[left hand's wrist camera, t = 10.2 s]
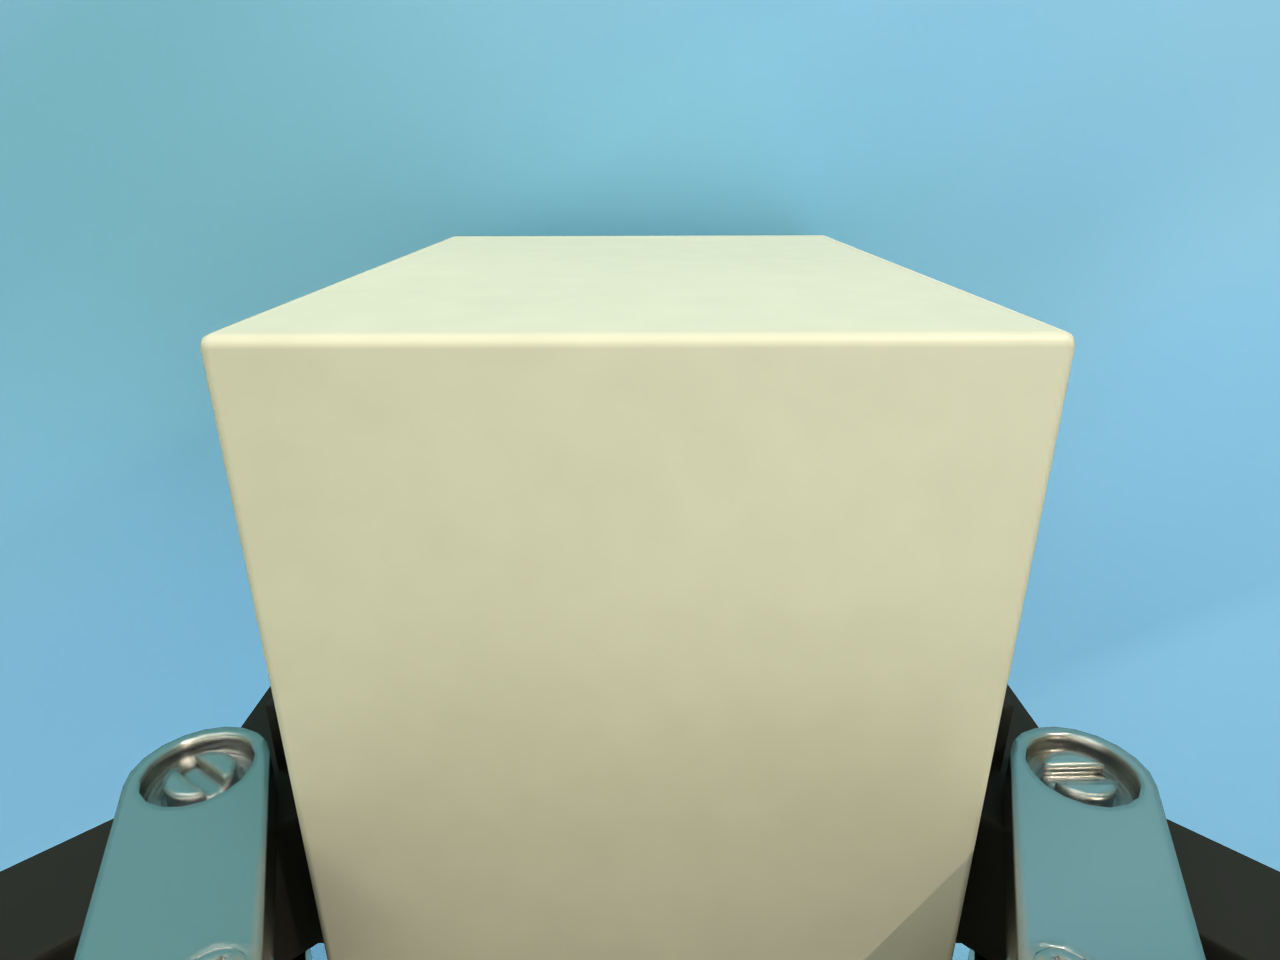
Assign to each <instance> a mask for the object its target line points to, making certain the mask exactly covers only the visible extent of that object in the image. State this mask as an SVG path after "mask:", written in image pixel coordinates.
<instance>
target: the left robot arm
mask: <svg viewBox="0 0 1280 960" xmlns="http://www.w3.org/2000/svg"><path fill="white" fill-rule="evenodd" d="M317 943H324V940H323V935H322V930H321V925H320V920H319V916H318V911H317V906H316V901H315V896H314V892H313V887H312V882H311V877H310V872H309V868H308V863H307V858H306V853H305V848H304V844H303V839H302V834H301V829H300V824H299V820H298V815H297V810H296V805H295V800H294V796H293V791H292V786H291V781H290V776H289V772H288V767H287V762H286V757H285V752H284V748H283V743H282V738H281V733H280V728H279V724H278V719H277V714H276V709H275V704H274V700H273V695H272V690H271V686H270V688H269V689H268V690H267V692H266V693H265V695H264V696H263V697H262V699H261V700H260V702H259V703H258V704H257V706H256V707H255V709H254V710H253V711H252V713H251V714H250V716H249V717H248V718H247V720H246V721H245V723H244V724H243V725H242V727H241V728H237V727H220V728H213V729H205V730H202V731H198V732H195V733H192V734H188V735H185V736H182V737H180V738H178V739H176V740H174V741H172V742H169V743H167V744H165V745H163V746H161V747H160V748H158V749H157V750H155V751H154V752H153V753H151V754H150V755H148V756H147V757H145V758H144V759H143V760H142V761H141V762H140V763H139V764H138V765H137V766H136V767H135V768H134V769H133V770H132V771H131V772H130V774H129V776H128V778H127V780H126V782H125V784H124V786H123V788H122V792H121V795H120V799H119V802H118V806H117V809H116V813H115V816H114V819H112V820H110V821H108V822H105V823H103V824H101V825H99V826H97V827H95V828H93V829H91V830H88V831H86V832H84V833H82V834H80V835H78V836H76V837H73V838H71V839H69V840H67V841H65V842H63V843H61V844H59V845H56V846H54V847H52V848H50V849H48V850H46V851H44V852H41V853H39V854H37V855H35V856H33V857H31V858H29V859H27V860H24V861H22V862H20V863H18V864H16V865H14V866H12V867H9V868H7V869H5V870H3V871H1V872H0V960H312V955H311V951H310V948H311V947H313V946H314V945H316V944H317ZM955 943H962V944H964V945H965V946H967V947H968V948H970V951H969V955H968V960H1280V872H1279V871H1277V870H1274V869H1272V868H1270V867H1268V866H1266V865H1264V864H1262V863H1259V862H1257V861H1255V860H1253V859H1251V858H1249V857H1247V856H1245V855H1242V854H1240V853H1238V852H1236V851H1234V850H1232V849H1230V848H1227V847H1225V846H1223V845H1221V844H1219V843H1217V842H1215V841H1213V840H1210V839H1208V838H1206V837H1204V836H1202V835H1200V834H1198V833H1195V832H1193V831H1191V830H1189V829H1187V828H1185V827H1183V826H1180V825H1178V824H1176V823H1174V822H1172V821H1170V820H1168V819H1166V816H1165V813H1164V809H1163V806H1162V802H1161V799H1160V795H1159V792H1158V788H1157V786H1156V784H1155V782H1154V780H1153V778H1152V776H1151V774H1150V772H1149V771H1148V770H1147V769H1146V768H1145V767H1144V766H1143V765H1142V764H1141V763H1140V762H1139V761H1138V760H1137V759H1136V758H1135V757H1133V756H1132V755H1130V754H1129V753H1127V752H1126V751H1125V750H1123V749H1122V748H1120V747H1119V746H1117V745H1115V744H1113V743H1111V742H1108V741H1106V740H1104V739H1102V738H1100V737H1098V736H1095V735H1092V734H1088V733H1085V732H1082V731H1078V730H1075V729H1067V728H1060V727H1043V728H1038V726H1037V725H1036V723H1035V722H1034V721H1033V719H1032V718H1031V716H1030V715H1029V714H1028V712H1027V711H1026V709H1025V708H1024V707H1023V705H1022V704H1021V702H1020V701H1019V700H1018V698H1017V697H1016V695H1015V694H1014V693H1013V691H1012V690H1011V688H1010V687H1009V686H1008V684H1007V688H1006V693H1005V698H1004V703H1003V708H1002V713H1001V718H1000V723H999V728H998V733H997V738H996V743H995V748H994V753H993V758H992V763H991V767H990V772H989V777H988V782H987V787H986V792H985V797H984V802H983V807H982V812H981V817H980V822H979V827H978V832H977V837H976V842H975V847H974V852H973V857H972V862H971V867H970V872H969V877H968V882H967V887H966V892H965V897H964V902H963V907H962V912H961V917H960V922H959V927H958V932H957V937H956V942H955Z"/></svg>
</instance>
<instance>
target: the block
mask: <svg viewBox="0 0 1280 960" xmlns="http://www.w3.org/2000/svg"><path fill="white" fill-rule="evenodd" d="M1074 348H1075V344H1074V337H1073V336H1072V334H1070V333H1068V332H1066V331H1063V330H1061V329H1059V328H1056V327H1054V326H1051V325H1049V324H1046V323H1043V322H1041V321H1038V320H1036V319H1033V318H1031V317H1028V316H1026V315H1023V314H1021V313H1018V312H1016V311H1013V310H1011V309H1008V308H1006V307H1003V306H1001V305H998V304H996V303H993V302H991V301H988V300H985V299H983V298H980V297H978V296H975V295H973V294H970V293H968V292H965V291H963V290H960V289H958V288H955V287H953V286H950V285H948V284H945V283H943V282H940V281H938V280H935V279H932V278H930V277H927V276H925V275H922V274H920V273H917V272H915V271H912V270H910V269H907V268H905V267H902V266H900V265H897V264H895V263H892V262H890V261H887V260H885V259H882V258H880V257H877V256H874V255H872V254H869V253H867V252H864V251H862V250H859V249H857V248H854V247H852V246H849V245H847V244H844V243H842V242H839V241H837V240H834V239H832V238H829V237H827V236H824V235H787V236H454V237H451V238H449V239H446V240H444V241H441V242H439V243H436V244H434V245H431V246H429V247H426V248H424V249H421V250H419V251H416V252H414V253H411V254H409V255H406V256H403V257H401V258H398V259H396V260H393V261H391V262H388V263H386V264H383V265H381V266H378V267H376V268H373V269H371V270H368V271H366V272H363V273H361V274H358V275H356V276H353V277H351V278H348V279H346V280H343V281H341V282H338V283H336V284H333V285H331V286H328V287H326V288H323V289H320V290H318V291H315V292H313V293H310V294H308V295H305V296H303V297H300V298H298V299H295V300H293V301H290V302H288V303H285V304H283V305H280V306H278V307H275V308H273V309H270V310H268V311H265V312H263V313H260V314H258V315H255V316H253V317H250V318H248V319H245V320H243V321H240V322H237V323H235V324H232V325H230V326H227V327H225V328H222V329H220V330H217V331H215V332H212V333H210V334H208V335H206V336H204V337H203V339H202V341H201V354H202V359H203V364H204V368H205V373H206V378H207V383H208V388H209V392H210V397H211V402H212V407H213V412H214V416H215V421H216V426H217V431H218V436H219V440H220V445H221V450H222V455H223V460H224V464H225V469H226V474H227V479H228V484H229V488H230V493H231V498H232V503H233V508H234V512H235V517H236V522H237V527H238V532H239V536H240V541H241V546H242V551H243V556H244V560H245V565H246V570H247V575H248V580H249V584H250V589H251V594H252V599H253V604H254V608H255V613H256V618H257V623H258V628H259V632H260V637H261V642H262V647H263V652H264V656H265V661H266V666H267V671H268V676H269V680H270V685H271V690H272V695H273V700H274V704H275V709H276V714H277V719H278V724H279V728H280V733H281V738H282V743H283V748H284V752H285V757H286V762H287V767H288V772H289V776H290V781H291V786H292V791H293V796H294V800H295V805H296V810H297V815H298V820H299V824H300V829H301V834H302V839H303V844H304V848H305V853H306V858H307V863H308V868H309V872H310V877H311V882H312V887H313V892H314V896H315V901H316V906H317V911H318V916H319V920H320V925H321V930H322V935H323V940H324V944H325V949H326V954H327V959H328V960H952V957H953V952H954V947H955V942H956V937H957V932H958V927H959V922H960V917H961V912H962V907H963V902H964V897H965V892H966V887H967V882H968V877H969V872H970V867H971V862H972V857H973V852H974V847H975V842H976V837H977V832H978V827H979V822H980V817H981V812H982V807H983V802H984V797H985V792H986V787H987V782H988V777H989V772H990V767H991V763H992V758H993V753H994V748H995V743H996V738H997V733H998V728H999V723H1000V718H1001V713H1002V708H1003V703H1004V698H1005V693H1006V688H1007V683H1008V678H1009V673H1010V668H1011V663H1012V658H1013V653H1014V648H1015V643H1016V638H1017V633H1018V628H1019V623H1020V618H1021V613H1022V608H1023V603H1024V598H1025V593H1026V588H1027V583H1028V578H1029V573H1030V568H1031V563H1032V558H1033V553H1034V548H1035V543H1036V538H1037V533H1038V528H1039V523H1040V518H1041V513H1042V508H1043V503H1044V498H1045V493H1046V488H1047V483H1048V478H1049V473H1050V468H1051V463H1052V458H1053V453H1054V448H1055V443H1056V438H1057V433H1058V428H1059V423H1060V418H1061V413H1062V408H1063V403H1064V398H1065V393H1066V388H1067V383H1068V378H1069V373H1070V368H1071V363H1072V358H1073V353H1074Z"/></svg>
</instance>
